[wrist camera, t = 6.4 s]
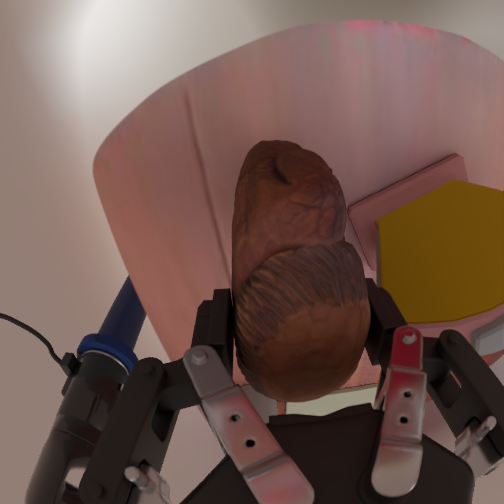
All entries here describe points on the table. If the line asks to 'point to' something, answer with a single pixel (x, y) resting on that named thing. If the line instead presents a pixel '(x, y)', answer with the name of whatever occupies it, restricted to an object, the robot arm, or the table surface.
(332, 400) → the mat
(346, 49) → the table surface
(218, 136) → the table surface
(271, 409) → the cup
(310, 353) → the wooden figurine
